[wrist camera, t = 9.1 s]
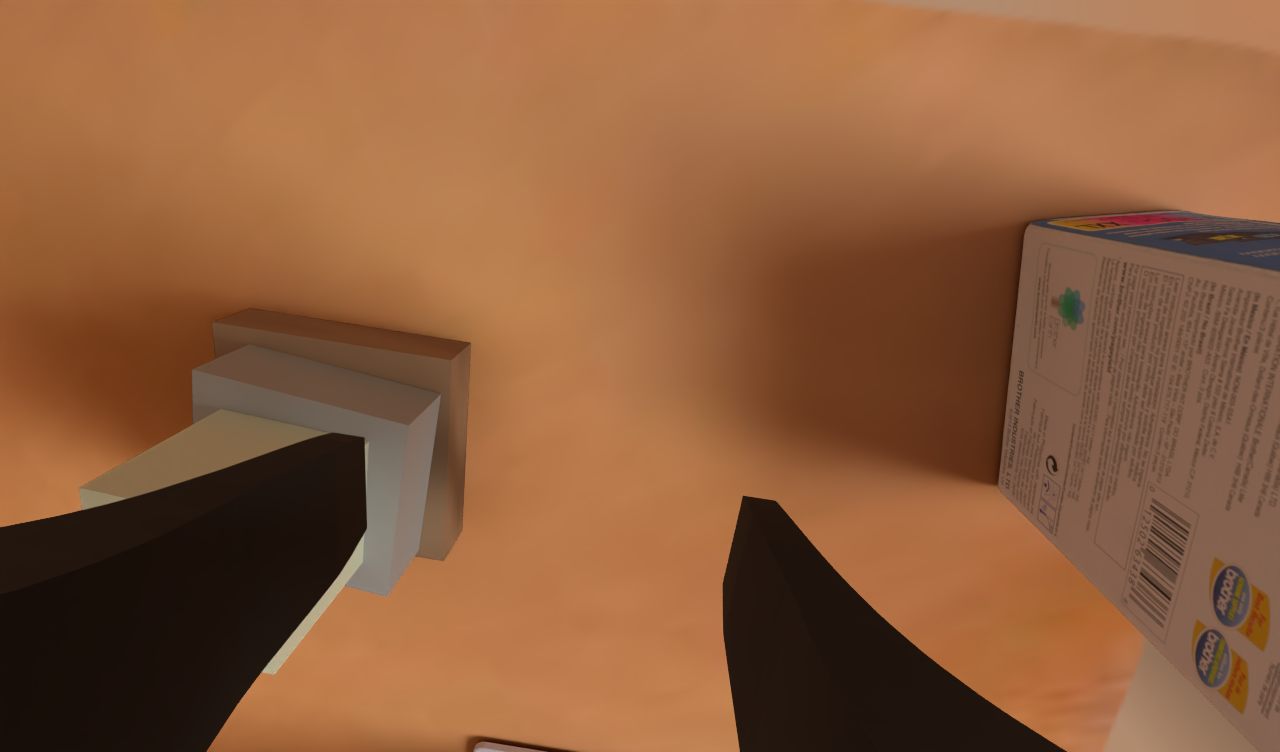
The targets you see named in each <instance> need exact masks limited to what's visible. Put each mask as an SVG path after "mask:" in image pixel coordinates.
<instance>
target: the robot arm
mask: <svg viewBox="0 0 1280 752" xmlns="http://www.w3.org/2000/svg"><path fill="white" fill-rule="evenodd" d="M366 530H367V505H366V470H365V437H360V436H353V435H347V434H340V433H334V432H333V433H328V434H324V435H320V436H317V437H313V438H310V439H307V440H304V441H301V442H298V443H295V444H292V445H289V446H286V447H283V448H280V449H277V450H275V451H272V452H269V453H266V454H263V455H260V456H258V457H255V458H252V459H249V460H246V461H243V462H241V463H238V464H235V465H232V466H229V467H226V468H224V469H221V470H218V471H215V472H211V473H208V474H205V475H202V476H199V477H196V478H193V479H190V480H187V481H183V482H180V483H177V484H174V485H171V486H168V487H165V488H162V489H159V490H155V491H152V492H149V493H145V494H142V495H138V496H135V497H131V498H128V499H124V500H120V501H117V502H113V503H109V504H105V505H101V506H97V507H93V508H89V509H85V510H81V511H77V512H73V513H69V514H64V515H60V516H55V517H51V518H46V519H41V520H36V521H31V522H25V523H20V524H15V525H10V526H5V527H0V752H206V751H207V750H208V748H209V747H210V745H211V743H212V742H213V740H214V739H215V737H216V736H217V734H218V733H219V731H220V730H221V728H222V727H223V725H224V724H225V722H226V721H227V719H228V718H229V716H230V715H231V713H232V712H233V710H234V709H235V707H236V706H237V704H238V703H239V701H240V700H241V699H242V697H243V696H244V695H245V693H246V692H247V691H248V689H249V688H250V686H251V685H252V684H253V682H254V681H255V680H256V678H257V677H258V676H259V675H260V673H261V672H262V671H263V670H264V668H265V667H266V666H267V665H268V663H269V662H270V661H271V660H272V658H273V657H274V656H275V655H276V654H277V652H278V651H279V650H280V649H281V647H282V646H283V645H284V644H285V642H286V641H287V640H288V639H289V637H290V636H291V635H292V634H293V632H294V631H295V630H296V629H297V628H298V626H299V625H300V624H301V623H302V621H303V620H304V619H305V618H306V616H307V615H308V614H309V613H310V611H311V610H312V609H313V608H314V606H315V605H316V604H317V603H318V601H319V600H320V599H321V598H322V596H323V595H324V594H325V593H326V591H327V590H328V589H329V588H330V586H331V585H332V584H333V582H334V581H335V580H336V579H337V577H338V576H339V575H340V573H341V572H342V570H343V568H344V567H345V565H346V564H347V562H348V560H349V559H350V557H351V556H352V554H353V552H354V551H355V549H356V547H357V545H358V544H359V542H360V540H361V538H362V537H363V535H364V533H365V531H366ZM723 634H724V642H725V649H726V656H727V664H728V671H729V678H730V685H731V692H732V699H733V706H734V713H735V720H736V727H737V734H738V740H739V747H740V752H1067V751H1065V750H1063V749H1062V748H1060V747H1058V746H1057V745H1055V744H1054V743H1052V742H1050V741H1049V740H1047V739H1046V738H1044V737H1043V736H1041V735H1039V734H1038V733H1036V732H1035V731H1033V730H1031V729H1030V728H1028V727H1027V726H1025V725H1024V724H1022V723H1020V722H1019V721H1017V720H1016V719H1014V718H1013V717H1011V716H1010V715H1008V714H1007V713H1005V712H1004V711H1002V710H1001V709H999V708H998V707H996V706H995V705H993V704H992V703H990V702H989V701H987V700H986V699H985V698H983V697H982V696H980V695H979V694H978V693H976V692H975V691H973V690H972V689H971V688H969V687H968V686H967V685H965V684H964V683H963V682H961V681H960V680H959V679H957V678H956V677H954V676H953V675H952V674H950V673H949V672H948V671H946V670H945V669H944V668H942V667H941V666H940V665H938V664H937V663H936V662H935V661H933V660H932V659H931V658H930V657H928V656H927V655H926V654H924V653H923V652H922V651H921V650H920V649H918V648H917V647H916V646H915V645H914V644H913V643H911V642H910V641H909V640H908V639H907V638H906V637H904V636H903V635H902V634H901V633H900V632H899V631H897V630H896V629H895V628H894V627H893V626H892V625H890V624H889V623H888V622H887V621H886V620H885V619H884V618H883V617H882V616H880V615H879V614H878V613H877V612H876V611H875V610H874V609H873V608H872V607H871V606H870V605H869V604H868V603H867V602H866V601H865V600H864V599H863V598H862V597H861V596H860V595H859V594H858V593H857V592H856V591H855V590H854V589H853V588H852V587H851V586H850V585H849V584H848V583H847V582H846V581H845V580H844V579H843V578H842V577H841V576H840V575H839V573H838V572H837V571H836V570H835V569H834V568H833V567H832V566H831V565H830V564H829V563H828V561H827V560H826V559H825V558H824V557H823V556H822V555H821V553H820V552H819V551H818V550H817V549H816V548H815V547H814V545H813V544H812V543H811V542H810V541H809V540H808V538H807V537H806V536H805V535H804V534H803V532H802V531H801V530H800V529H799V528H798V526H797V525H796V524H795V523H794V522H793V520H792V519H791V518H790V517H789V516H788V514H787V513H786V512H785V511H784V510H783V509H782V507H781V506H780V505H779V504H778V503H777V502H776V501H774V500H767V499H761V498H754V497H748V496H743V498H742V503H741V507H740V511H739V516H738V520H737V524H736V529H735V533H734V537H733V542H732V546H731V551H730V555H729V559H728V564H727V568H726V572H725V577H724V581H723ZM473 752H546V751H540V750H533V749H527V748H521V747H515V746H509V745H503V744H497V743H490V742H479V743H477V744H476V745H475V748H474V751H473Z"/></svg>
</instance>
